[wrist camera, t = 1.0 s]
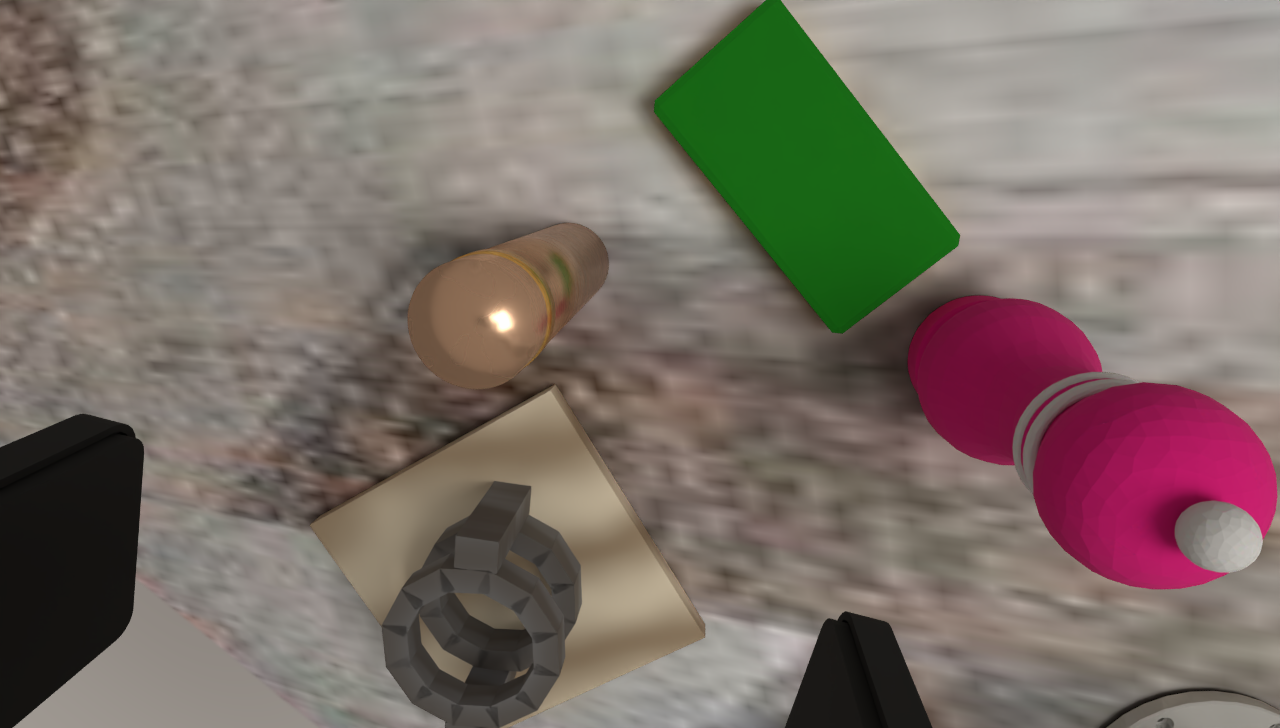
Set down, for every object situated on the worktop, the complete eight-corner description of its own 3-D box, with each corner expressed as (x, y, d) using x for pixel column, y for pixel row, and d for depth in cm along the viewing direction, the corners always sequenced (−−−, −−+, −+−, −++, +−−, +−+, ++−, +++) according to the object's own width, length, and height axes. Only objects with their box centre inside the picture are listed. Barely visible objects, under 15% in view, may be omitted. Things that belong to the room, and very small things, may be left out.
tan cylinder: (624, 278, 38) (564, 351, 23) (556, 317, 39) (454, 413, 24) (582, 206, 38) (490, 231, 22) (514, 248, 39) (380, 300, 23)
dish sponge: (770, 3, 35) (775, -9, 33) (949, 237, 37) (965, 241, 35) (652, 110, 37) (648, 105, 34) (829, 328, 38) (837, 338, 36)
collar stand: (705, 624, 43) (703, 717, 36) (473, 731, 46) (427, 836, 39) (555, 383, 40) (520, 430, 33) (320, 515, 43) (241, 584, 36)
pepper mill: (893, 427, 39) (1068, 679, 20) (899, 286, 37) (1098, 411, 18) (1042, 426, 38) (1375, 687, 19) (1055, 282, 36) (1437, 408, 17)
